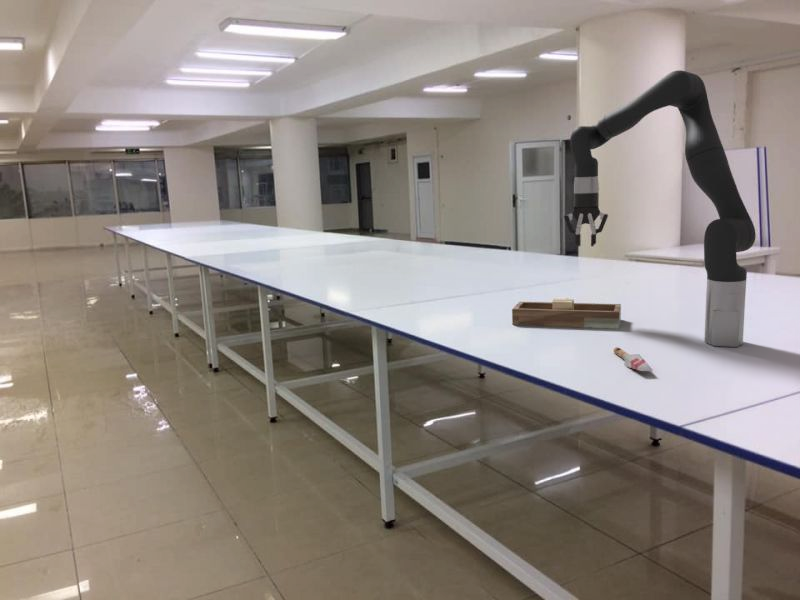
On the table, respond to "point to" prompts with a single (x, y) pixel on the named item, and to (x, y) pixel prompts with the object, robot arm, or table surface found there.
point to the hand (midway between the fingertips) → (585, 245)
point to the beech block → (563, 304)
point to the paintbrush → (633, 360)
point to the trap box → (567, 315)
